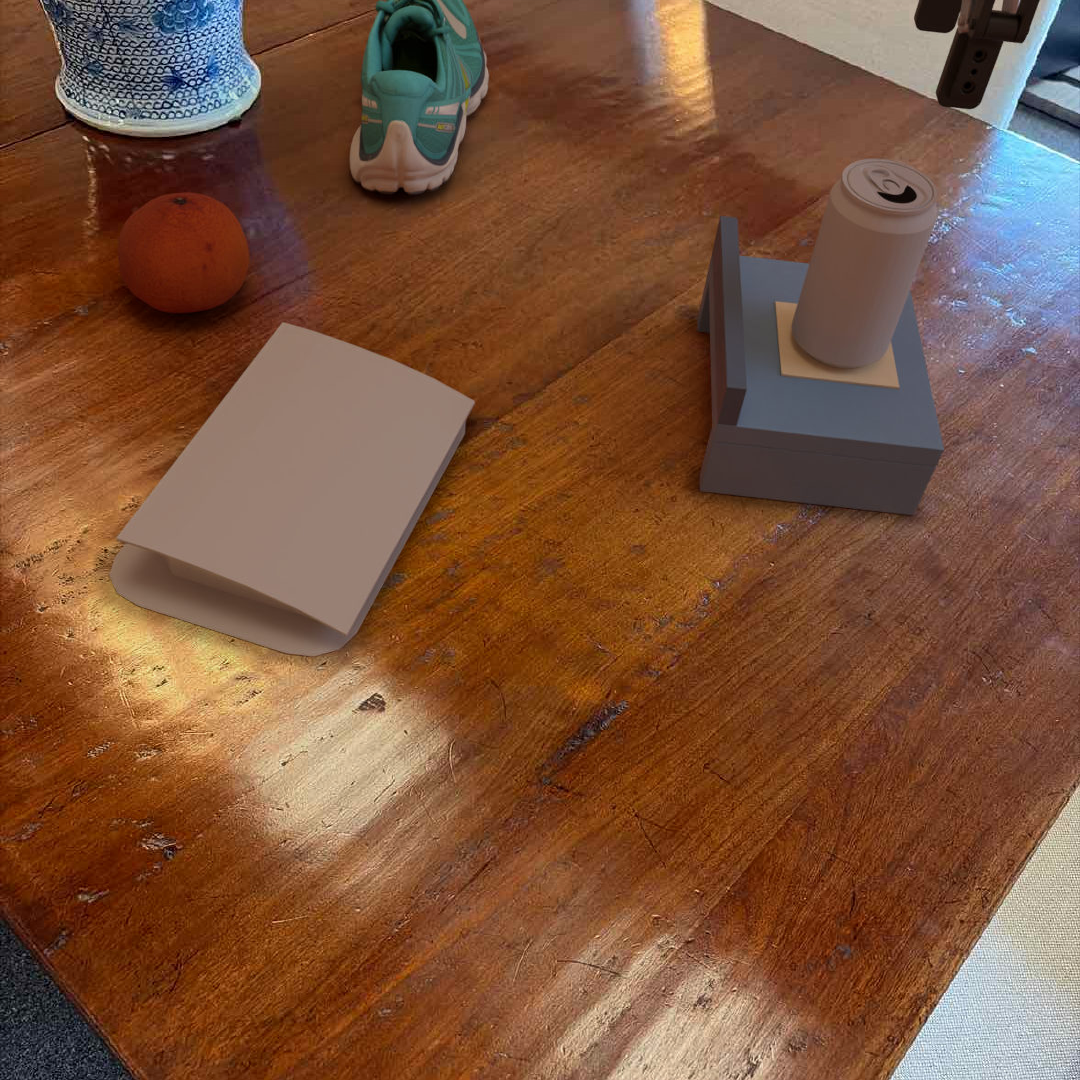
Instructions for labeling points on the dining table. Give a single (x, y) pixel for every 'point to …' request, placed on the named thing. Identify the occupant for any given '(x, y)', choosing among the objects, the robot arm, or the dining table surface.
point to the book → (293, 496)
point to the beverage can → (864, 262)
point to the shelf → (808, 398)
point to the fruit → (183, 253)
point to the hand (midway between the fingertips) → (943, 65)
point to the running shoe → (416, 94)
